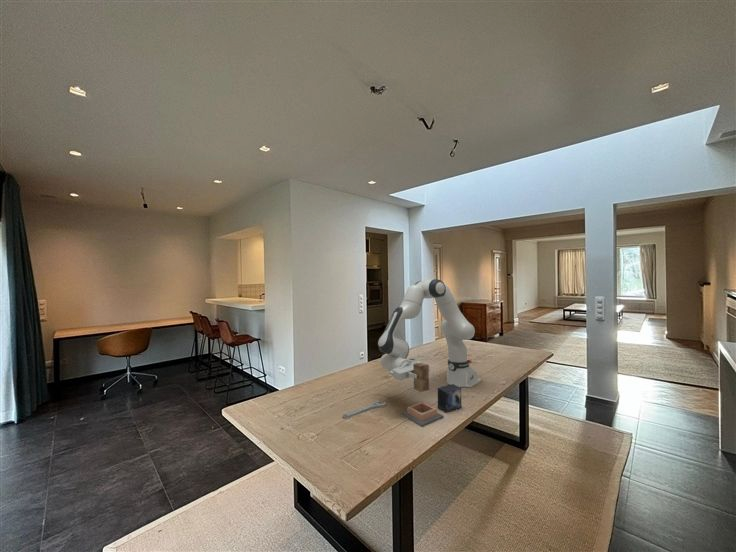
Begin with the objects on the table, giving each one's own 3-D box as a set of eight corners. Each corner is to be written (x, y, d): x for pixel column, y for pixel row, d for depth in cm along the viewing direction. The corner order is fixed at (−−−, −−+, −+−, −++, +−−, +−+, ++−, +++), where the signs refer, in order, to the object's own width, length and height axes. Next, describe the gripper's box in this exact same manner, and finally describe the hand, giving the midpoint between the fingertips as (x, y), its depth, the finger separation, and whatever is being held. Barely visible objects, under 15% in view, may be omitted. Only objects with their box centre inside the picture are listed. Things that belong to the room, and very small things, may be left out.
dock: (422, 407, 148) (422, 399, 148) (443, 417, 136) (443, 409, 136) (401, 414, 140) (401, 406, 140) (421, 427, 128) (421, 418, 129)
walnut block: (421, 386, 142) (421, 362, 142) (429, 389, 138) (428, 364, 138) (413, 388, 139) (413, 363, 139) (421, 392, 135) (420, 366, 135)
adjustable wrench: (344, 420, 138) (344, 416, 138) (338, 415, 143) (338, 411, 143) (387, 406, 150) (387, 403, 150) (380, 402, 156) (380, 398, 156)
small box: (445, 413, 141) (445, 391, 141) (437, 408, 147) (436, 387, 147) (462, 408, 145) (461, 387, 145) (453, 403, 151) (452, 383, 151)
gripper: (387, 365, 143) (405, 373, 132) (417, 358, 155) (437, 364, 143) (387, 378, 143) (405, 386, 132) (418, 370, 155) (437, 377, 143)
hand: (422, 375), depth 138 cm, fingers closed on walnut block, 5 cm apart
